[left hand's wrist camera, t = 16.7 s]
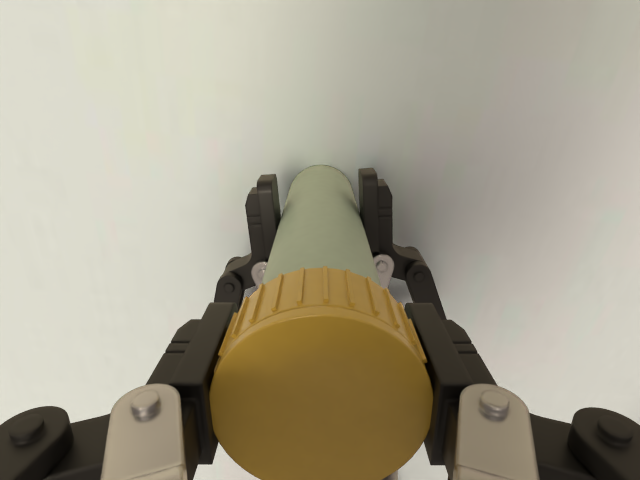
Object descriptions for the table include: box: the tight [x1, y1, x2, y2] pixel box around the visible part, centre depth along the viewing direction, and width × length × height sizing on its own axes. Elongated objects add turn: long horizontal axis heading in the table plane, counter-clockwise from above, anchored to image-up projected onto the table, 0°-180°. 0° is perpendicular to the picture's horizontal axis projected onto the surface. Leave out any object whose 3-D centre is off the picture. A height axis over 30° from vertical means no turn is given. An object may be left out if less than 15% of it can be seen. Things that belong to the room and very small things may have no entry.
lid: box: [209, 266, 433, 480], centre depth 10 cm, size 5×5×2 cm
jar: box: [261, 165, 381, 286], centre depth 18 cm, size 4×4×18 cm
